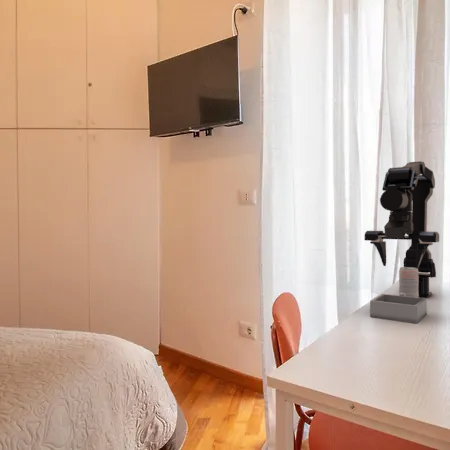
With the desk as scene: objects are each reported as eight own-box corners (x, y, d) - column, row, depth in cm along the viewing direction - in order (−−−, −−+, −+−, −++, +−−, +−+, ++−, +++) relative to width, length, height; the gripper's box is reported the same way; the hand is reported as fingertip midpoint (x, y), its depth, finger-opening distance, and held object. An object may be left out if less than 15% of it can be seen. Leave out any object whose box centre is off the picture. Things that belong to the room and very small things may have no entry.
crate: (382, 308, 122) (382, 293, 121) (426, 314, 114) (426, 298, 114) (370, 316, 112) (370, 300, 112) (417, 323, 105) (417, 306, 105)
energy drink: (414, 305, 125) (414, 267, 125) (421, 309, 120) (421, 269, 120) (396, 305, 126) (396, 266, 125) (402, 309, 120) (402, 269, 120)
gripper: (358, 211, 113) (357, 267, 113) (432, 210, 102) (431, 272, 102) (370, 212, 122) (370, 263, 122) (439, 211, 111) (439, 268, 111)
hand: (400, 266), depth 114 cm, fingers open, 8 cm apart
